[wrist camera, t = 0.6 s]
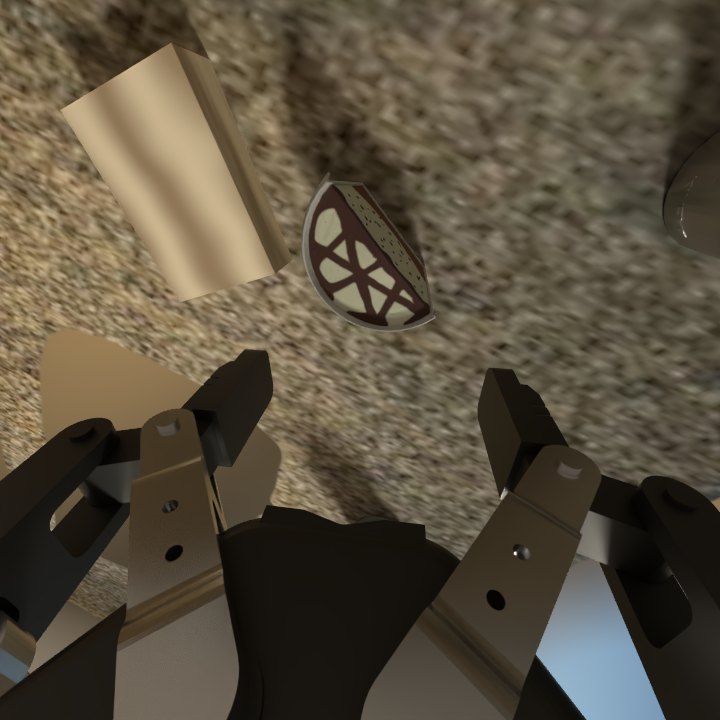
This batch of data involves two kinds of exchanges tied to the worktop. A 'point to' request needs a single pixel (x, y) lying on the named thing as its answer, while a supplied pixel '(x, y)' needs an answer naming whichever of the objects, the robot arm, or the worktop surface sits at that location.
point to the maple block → (181, 172)
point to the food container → (362, 260)
